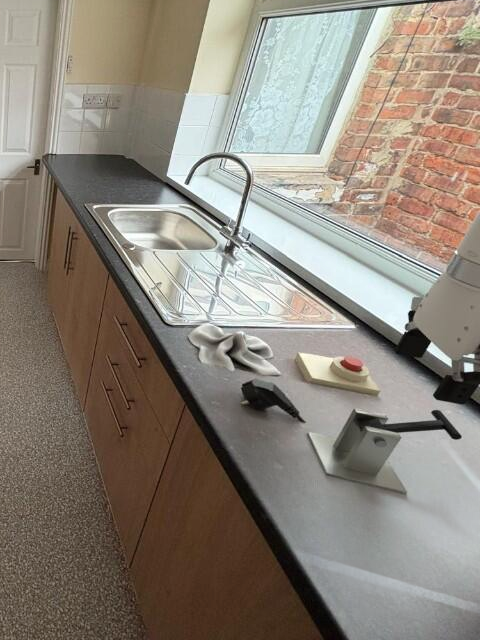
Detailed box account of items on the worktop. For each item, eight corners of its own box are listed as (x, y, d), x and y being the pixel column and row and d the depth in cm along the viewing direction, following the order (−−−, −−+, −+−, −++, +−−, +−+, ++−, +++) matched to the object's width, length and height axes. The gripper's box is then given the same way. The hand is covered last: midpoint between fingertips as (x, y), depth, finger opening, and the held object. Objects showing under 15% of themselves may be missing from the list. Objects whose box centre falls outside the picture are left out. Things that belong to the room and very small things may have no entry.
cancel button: (355, 364, 91) (359, 357, 91) (362, 373, 89) (366, 367, 88) (338, 360, 92) (341, 354, 92) (344, 370, 90) (348, 364, 89)
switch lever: (442, 417, 67) (439, 406, 67) (463, 442, 63) (460, 430, 63) (356, 424, 73) (353, 414, 72) (370, 447, 68) (367, 437, 68)
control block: (356, 370, 95) (363, 356, 93) (376, 398, 87) (384, 384, 85) (294, 359, 98) (300, 345, 97) (308, 385, 91) (315, 371, 89)
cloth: (186, 321, 112) (191, 302, 109) (266, 336, 106) (273, 316, 103) (192, 376, 94) (199, 354, 91) (289, 398, 88) (300, 376, 85)
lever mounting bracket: (376, 452, 76) (403, 410, 71) (403, 498, 68) (436, 454, 63) (304, 436, 79) (326, 395, 74) (323, 478, 71) (348, 435, 67)
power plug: (312, 434, 78) (262, 385, 80) (273, 445, 83) (227, 399, 85) (311, 415, 82) (264, 369, 84) (275, 426, 87) (231, 382, 89)
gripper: (598, 316, 44) (506, 429, 52) (481, 249, 58) (423, 345, 66) (503, 305, 46) (429, 415, 54) (414, 242, 61) (365, 336, 68)
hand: (426, 376), depth 60 cm, fingers open, 9 cm apart
